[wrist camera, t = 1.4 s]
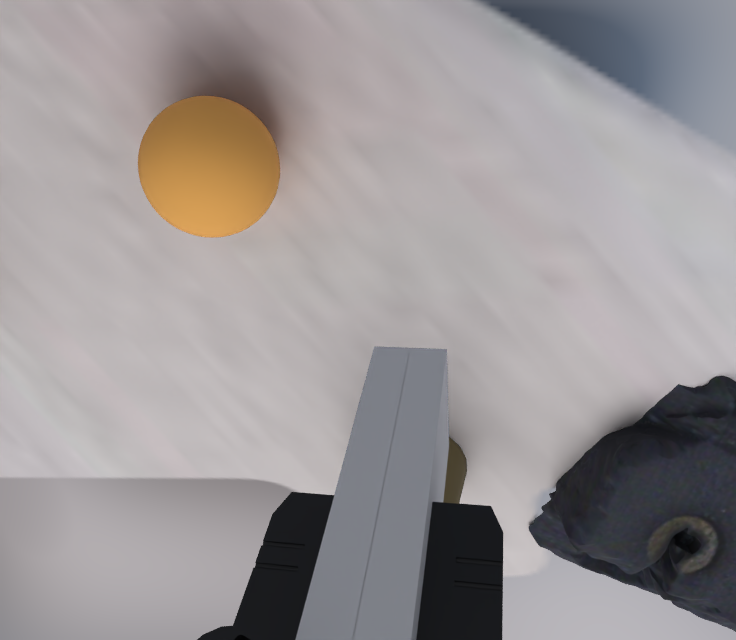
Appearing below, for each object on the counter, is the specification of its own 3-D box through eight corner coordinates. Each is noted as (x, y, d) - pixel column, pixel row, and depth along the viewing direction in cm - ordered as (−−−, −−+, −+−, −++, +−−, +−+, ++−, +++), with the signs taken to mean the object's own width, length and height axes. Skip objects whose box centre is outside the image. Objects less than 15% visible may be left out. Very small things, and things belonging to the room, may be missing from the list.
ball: (188, 202, 31) (136, 261, 27) (157, 81, 28) (92, 125, 24) (303, 201, 30) (268, 263, 26) (284, 75, 27) (240, 120, 23)
